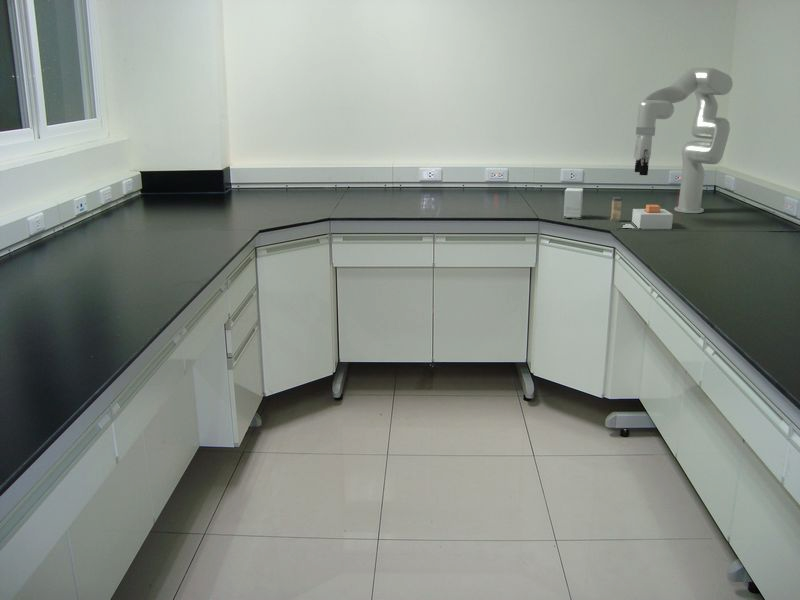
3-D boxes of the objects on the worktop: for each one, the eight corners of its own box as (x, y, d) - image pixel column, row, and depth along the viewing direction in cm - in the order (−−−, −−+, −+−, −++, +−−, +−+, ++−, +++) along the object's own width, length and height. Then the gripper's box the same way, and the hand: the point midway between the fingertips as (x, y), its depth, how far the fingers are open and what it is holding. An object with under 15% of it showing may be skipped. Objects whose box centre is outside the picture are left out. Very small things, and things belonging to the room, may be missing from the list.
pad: (610, 225, 308) (610, 223, 308) (630, 225, 307) (630, 223, 307) (615, 229, 300) (615, 227, 300) (635, 229, 300) (635, 227, 300)
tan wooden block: (610, 220, 318) (612, 197, 315) (618, 220, 318) (620, 197, 315) (612, 221, 315) (614, 198, 312) (620, 221, 315) (622, 198, 312)
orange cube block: (644, 216, 307) (646, 204, 306) (656, 216, 307) (657, 204, 306) (648, 218, 303) (649, 206, 302) (659, 218, 303) (660, 206, 301)
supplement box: (581, 216, 326) (584, 188, 322) (580, 219, 319) (582, 190, 315) (565, 215, 328) (566, 187, 324) (562, 218, 321) (564, 189, 317)
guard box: (631, 222, 312) (633, 208, 310) (662, 222, 312) (664, 209, 310) (639, 228, 301) (640, 214, 299) (671, 229, 300) (673, 214, 298)
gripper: (631, 130, 311) (627, 170, 316) (640, 133, 295) (635, 176, 300) (650, 130, 311) (645, 171, 316) (659, 133, 294) (654, 176, 299)
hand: (640, 173), depth 308 cm, fingers open, 9 cm apart
